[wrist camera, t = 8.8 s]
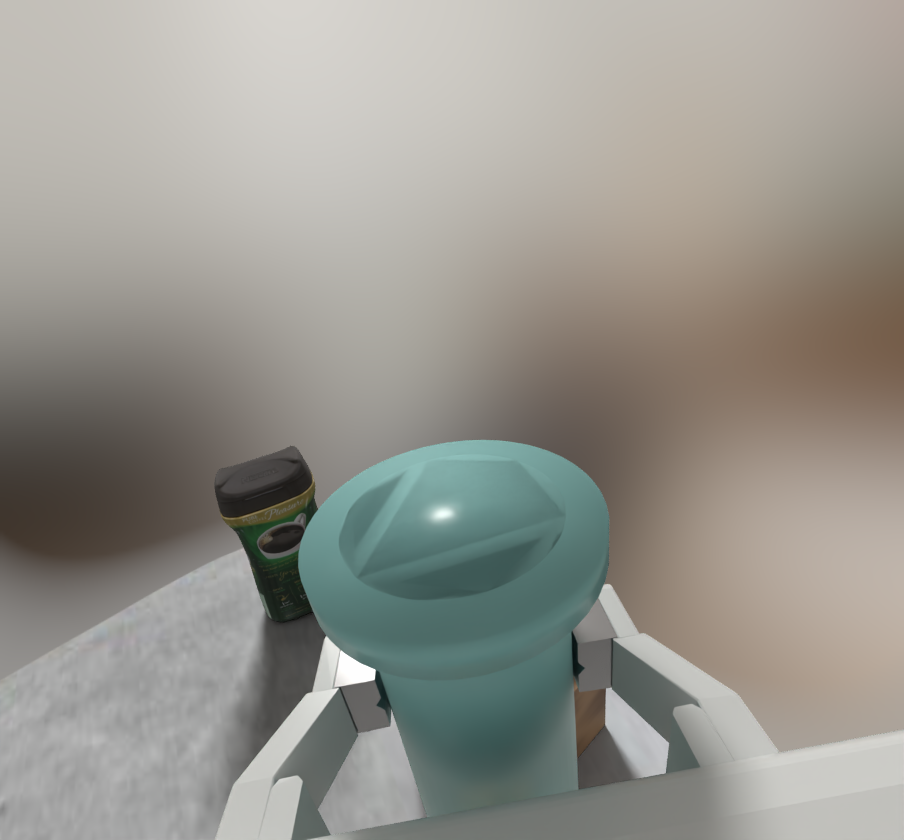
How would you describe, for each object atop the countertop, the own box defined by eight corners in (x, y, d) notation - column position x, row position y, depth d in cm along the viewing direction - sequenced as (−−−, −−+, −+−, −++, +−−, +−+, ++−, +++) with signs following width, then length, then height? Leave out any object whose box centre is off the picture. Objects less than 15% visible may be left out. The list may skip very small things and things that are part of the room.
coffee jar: (339, 556, 56) (299, 432, 48) (354, 596, 49) (310, 459, 41) (263, 588, 52) (207, 460, 45) (268, 636, 46) (203, 494, 38)
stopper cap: (463, 1011, 9) (351, 739, 5) (368, 741, 14) (275, 502, 10) (658, 808, 12) (686, 520, 8) (516, 642, 17) (488, 419, 13)
